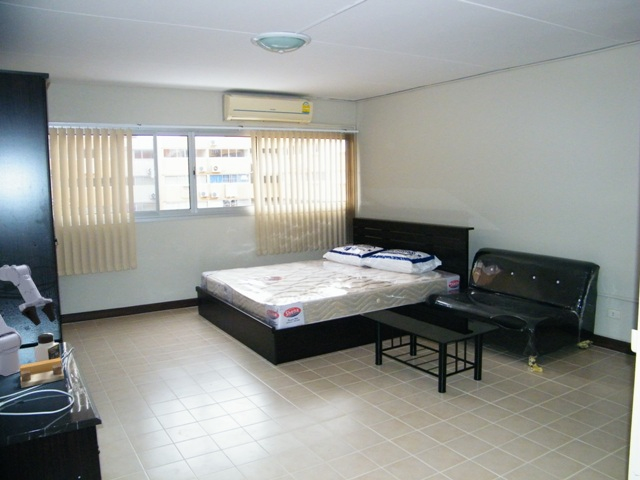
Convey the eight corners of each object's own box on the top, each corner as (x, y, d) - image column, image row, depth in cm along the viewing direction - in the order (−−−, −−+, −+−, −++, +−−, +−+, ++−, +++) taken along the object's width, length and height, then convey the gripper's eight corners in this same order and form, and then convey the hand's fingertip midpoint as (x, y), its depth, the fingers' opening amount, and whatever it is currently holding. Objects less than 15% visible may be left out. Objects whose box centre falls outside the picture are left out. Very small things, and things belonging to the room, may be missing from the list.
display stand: (21, 387, 200) (19, 376, 199) (20, 380, 207) (19, 369, 206) (64, 378, 207) (63, 368, 207) (62, 372, 214) (61, 361, 214)
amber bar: (21, 379, 209) (19, 368, 208) (20, 375, 212) (19, 365, 212) (62, 370, 216) (61, 360, 216) (61, 367, 220) (60, 357, 219)
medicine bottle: (49, 364, 224) (46, 337, 222) (35, 363, 225) (32, 336, 223) (60, 358, 231) (58, 332, 229) (46, 357, 232) (44, 331, 230)
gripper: (21, 289, 196) (38, 320, 194) (51, 285, 210) (66, 314, 208) (9, 299, 197) (25, 330, 196) (39, 294, 211) (55, 323, 210)
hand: (46, 322), depth 202 cm, fingers open, 7 cm apart
